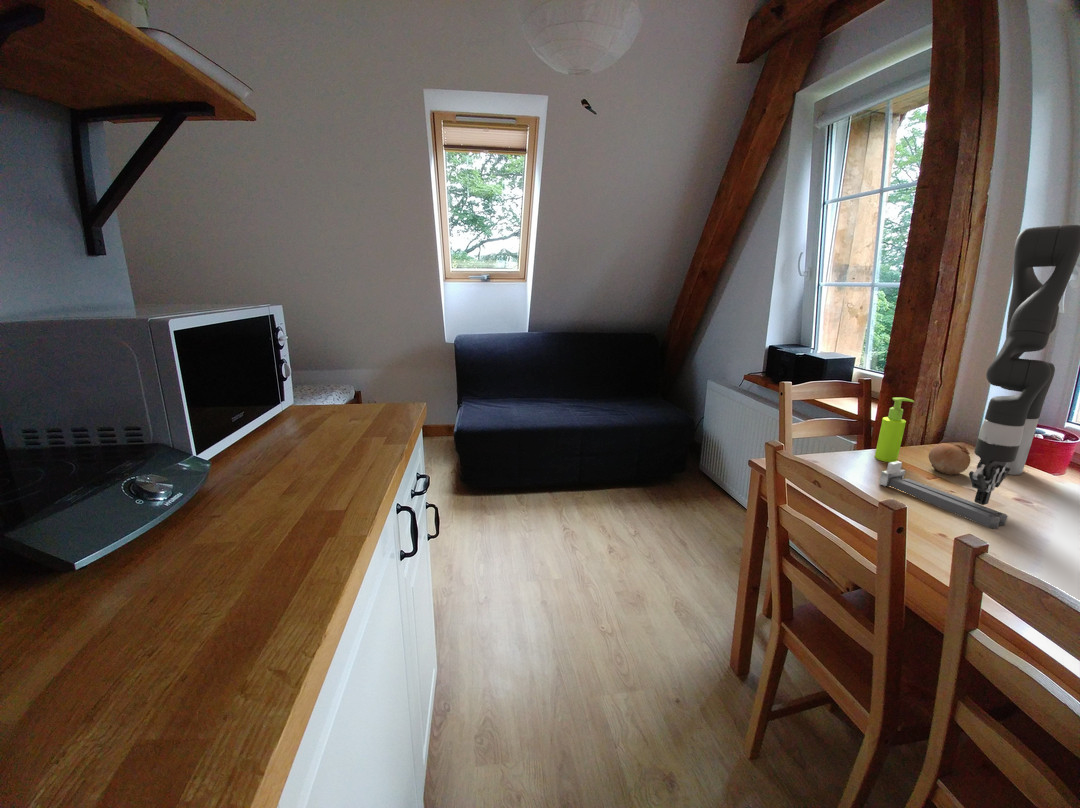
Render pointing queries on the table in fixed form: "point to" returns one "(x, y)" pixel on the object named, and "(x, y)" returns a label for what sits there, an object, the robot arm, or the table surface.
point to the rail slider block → (891, 472)
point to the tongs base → (946, 503)
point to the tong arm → (962, 501)
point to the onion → (949, 458)
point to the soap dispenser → (891, 433)
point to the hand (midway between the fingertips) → (980, 503)
